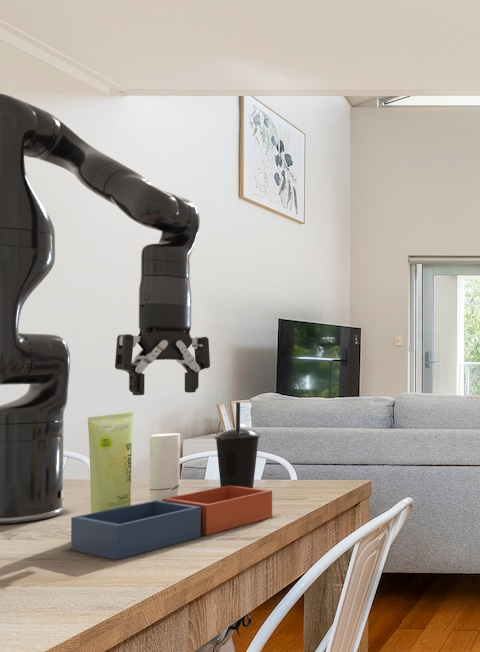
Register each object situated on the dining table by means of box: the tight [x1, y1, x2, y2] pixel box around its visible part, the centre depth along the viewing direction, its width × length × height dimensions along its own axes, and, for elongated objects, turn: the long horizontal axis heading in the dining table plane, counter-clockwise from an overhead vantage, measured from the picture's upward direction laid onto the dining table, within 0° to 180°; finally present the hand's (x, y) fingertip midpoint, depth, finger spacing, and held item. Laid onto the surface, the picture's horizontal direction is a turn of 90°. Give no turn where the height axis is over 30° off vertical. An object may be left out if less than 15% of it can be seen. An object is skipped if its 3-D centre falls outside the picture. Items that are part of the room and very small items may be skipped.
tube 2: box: [148, 432, 181, 502], centre depth 103 cm, size 4×4×15 cm
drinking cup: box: [214, 402, 261, 488], centre depth 113 cm, size 8×8×20 cm
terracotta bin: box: [163, 485, 273, 536], centre depth 101 cm, size 12×12×5 cm
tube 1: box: [87, 411, 134, 514], centre depth 94 cm, size 6×5×20 cm
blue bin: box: [70, 500, 202, 560], centre depth 89 cm, size 12×12×5 cm
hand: (165, 393), depth 103 cm, fingers open, 8 cm apart
